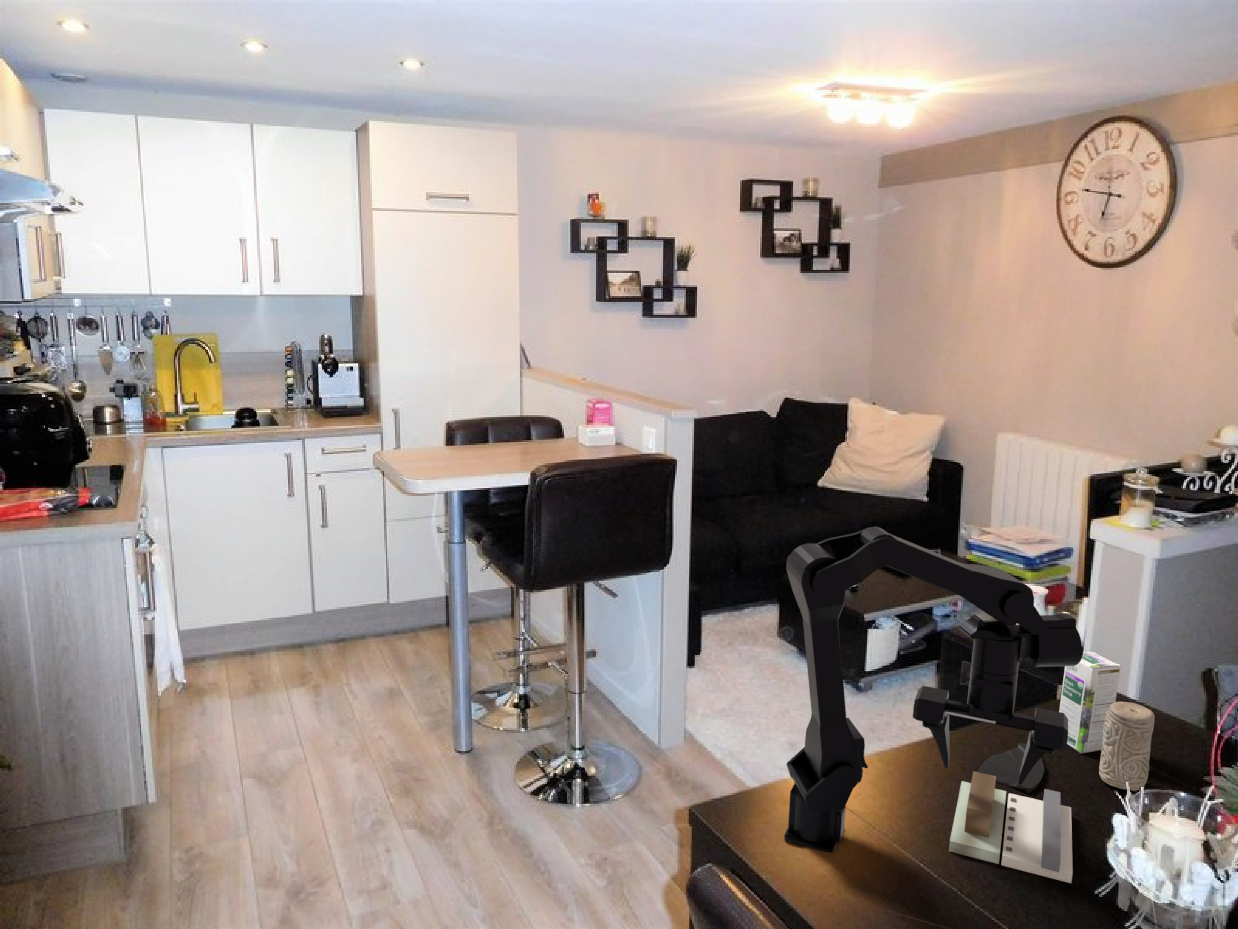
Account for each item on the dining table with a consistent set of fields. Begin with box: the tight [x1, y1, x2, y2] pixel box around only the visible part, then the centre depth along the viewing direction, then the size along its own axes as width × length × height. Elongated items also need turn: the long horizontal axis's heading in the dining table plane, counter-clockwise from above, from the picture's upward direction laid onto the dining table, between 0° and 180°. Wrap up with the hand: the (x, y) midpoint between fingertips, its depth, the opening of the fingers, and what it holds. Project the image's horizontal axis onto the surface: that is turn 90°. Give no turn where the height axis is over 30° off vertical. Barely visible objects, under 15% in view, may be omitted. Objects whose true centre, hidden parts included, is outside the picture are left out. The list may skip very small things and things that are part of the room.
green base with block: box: [948, 770, 1007, 865], centre depth 124 cm, size 6×16×5 cm, turn 155°
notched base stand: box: [1001, 788, 1074, 884], centre depth 122 cm, size 8×17×3 cm, turn 155°
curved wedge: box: [976, 741, 1045, 794], centre depth 140 cm, size 8×14×2 cm, turn 137°
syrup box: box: [1058, 651, 1122, 754], centre depth 146 cm, size 6×6×14 cm
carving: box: [1098, 701, 1155, 792], centre depth 135 cm, size 6×8×12 cm
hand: (982, 775), depth 123 cm, fingers open, 9 cm apart
